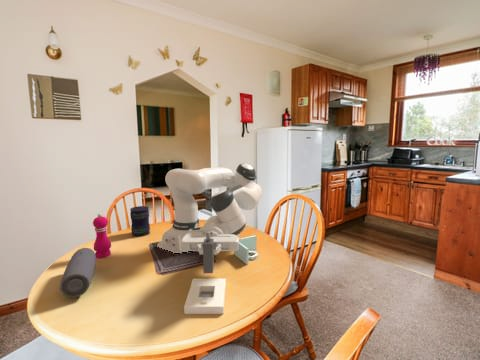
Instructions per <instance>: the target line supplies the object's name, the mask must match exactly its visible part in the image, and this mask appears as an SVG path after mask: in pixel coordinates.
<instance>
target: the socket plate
mask: <svg viewBox="0 0 480 360" xmlns="http://www.w3.org/2000/svg"><path fill="white" fill-rule="evenodd" d="M226 287H227V286H226V278H192V281H191V284H190V288H189V290H188V293H187V297H186V300H185V302H184V306H183V310H184V313H183V314H184V315H224V312H225V298H226V297H225V296H226Z"/></svg>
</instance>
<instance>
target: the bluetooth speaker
mask: <svg viewBox="0 0 480 360" xmlns="http://www.w3.org/2000/svg"><path fill="white" fill-rule="evenodd" d="M95 253H96V251H95V250H94V249H93V248H89V247H82V248H80V249H77V250H76V251H75V252H73V254H72V256H71V258H70V260H69V261H68V264H67V265H66V267H65V270H64V272H63V274H62V278H61V281H60V286H59V287H60V288H59V289H60V293H61V294H62V296H65V297H68V298H78V297H80V296H83V295H84V294H85V293H86V292H87V291H88V289H89V287H90V285H91V283H92V280H93V278H94V276H95V275H94V274H95V270H96V262H97V258H96V254H95Z"/></svg>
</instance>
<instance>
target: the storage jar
mask: <svg viewBox="0 0 480 360" xmlns="http://www.w3.org/2000/svg"><path fill="white" fill-rule="evenodd" d="M129 210H130V213H129V214H130V220H131V225H130V226H131V236H132V237H133V238H134V237H135V238H142V237H146V236H149V235H150V234H151V232H150V231H151V230H150V229H151V225H150V224H151V223H150V209H149V206H144V205H139V206H134V207H131V208H130V209H129Z"/></svg>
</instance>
